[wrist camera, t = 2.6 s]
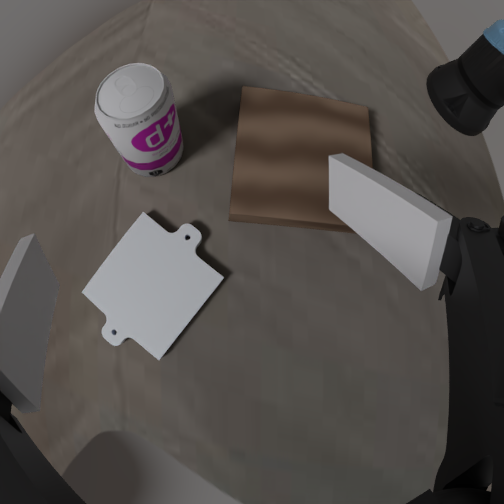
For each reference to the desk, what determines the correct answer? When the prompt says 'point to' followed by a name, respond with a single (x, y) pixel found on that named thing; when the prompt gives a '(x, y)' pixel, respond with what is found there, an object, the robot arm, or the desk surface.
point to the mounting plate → (152, 285)
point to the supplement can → (141, 118)
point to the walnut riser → (293, 157)
